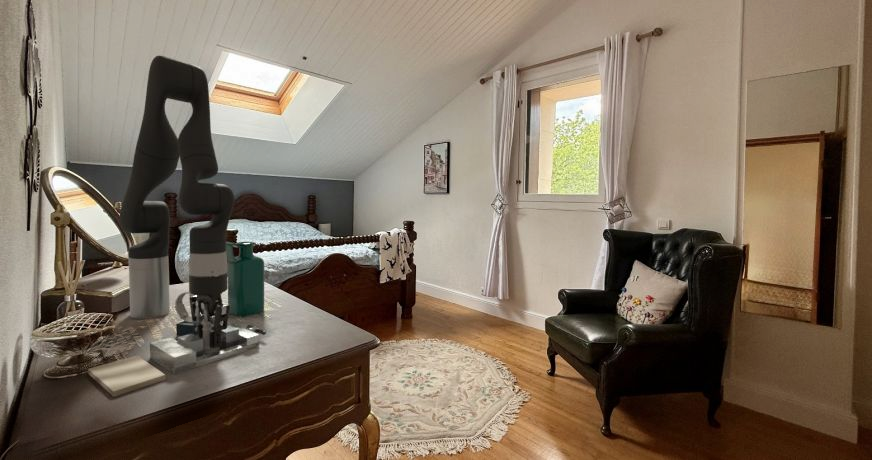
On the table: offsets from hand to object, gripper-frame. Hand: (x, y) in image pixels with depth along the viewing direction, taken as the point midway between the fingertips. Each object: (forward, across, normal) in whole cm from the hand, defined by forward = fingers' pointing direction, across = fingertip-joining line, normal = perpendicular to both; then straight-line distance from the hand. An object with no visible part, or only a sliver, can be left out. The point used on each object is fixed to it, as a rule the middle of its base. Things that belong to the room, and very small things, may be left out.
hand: (209, 343), depth 86 cm
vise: (+2, 0, +1) cm, 2 cm away
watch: (+2, -15, +3) cm, 15 cm away
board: (+2, 0, -16) cm, 16 cm away
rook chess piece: (+2, 0, 0) cm, 2 cm away
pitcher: (+2, -21, +20) cm, 29 cm away
